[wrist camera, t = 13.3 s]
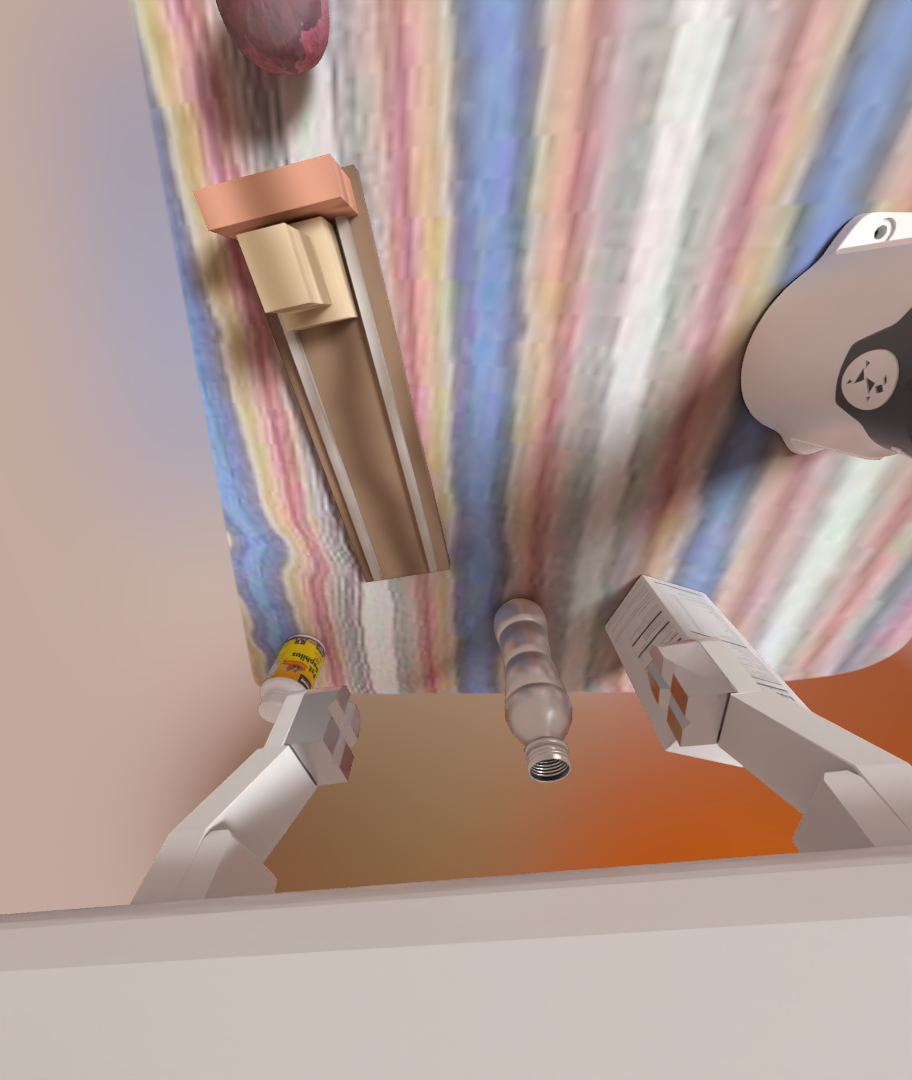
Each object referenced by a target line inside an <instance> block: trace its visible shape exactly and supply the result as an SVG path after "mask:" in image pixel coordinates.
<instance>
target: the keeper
mask: <svg viewBox="0 0 912 1080" xmlns="http://www.w3.org/2000/svg"><path fill="white" fill-rule="evenodd" d="M236 236H237V239H238V241H239V244H240V247H241V249H242V252H243V255H244V257H245V260H246V263H247V265H248V268H249V271H250V273H251V276H252V279H253V281H254V284H255V287H256V289H257V292H258V295H259V297H260V300H261V303H262V305H263V308H264V311H265V313H281V316H282V319H283V322H284V324H285V327H286V330H287V331H293V330H302V329H307V328H311V327H316V326H320V325H325V324H329V323H334V322H338V321H342V320H347V319H351V318H356V317H358V314H357V310H356V307H355V303H354V299H353V296H352V292H351V288H350V285H349V281H348V277H347V274H346V270H345V266H344V263H343V259H342V255H341V252H340V248H339V244H338V241H337V237H336V234H335V230H334V226H333V225H332V224H331V223H329V222H328V221H327V220H325V219H324V218H323V217H321V216H320V217H316V218H312V219H308V220H304V221H300V222H296V223H292V224H288V225H287V224H285V223H281V224H277V225H273V226H269V227H266V228H262V229H258V230H254V231H250V232H246V233H242V234H238V235H236Z"/></svg>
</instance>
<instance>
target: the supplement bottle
mask: <svg viewBox="0 0 912 1080" xmlns="http://www.w3.org/2000/svg"><path fill="white" fill-rule="evenodd" d="M324 657H325V648H324V646H323V644H322V643H321V642H320V641H319V640H318V639H316V638H314V637H312V636H309V635H303V634H300V635H295V636H292V637H290V638H289V639H288V640H287V641H286V642H285V644H284V645H283V647H282V649H281V651H280V653H279V655H278V656H277V658H276V660H275V662H274V664H273V666H272V668H271V669H270V671H269V673H268V675H267V677H266V679H265V680H264V682H263V684H262V686H261V689H260V696H261V699H262V701H261V703H260V705H259V708H258V713H259V715H260V716H261V717H262V718H263V719H264V720H266V721H268V722H271V723H275V721H276V719H277V717H278V715H279V712H280V710H281V708H282V706H283V704H284V701H285V699H286V697H287V696H288V695H289V694H290V693H291V692H292V691H299V690H308V689H312V688H313V685H314V683H315V680H316V678H317V675H318V673H319V670H320V667H321V665H322V662H323V660H324Z"/></svg>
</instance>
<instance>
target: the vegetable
mask: <svg viewBox="0 0 912 1080" xmlns="http://www.w3.org/2000/svg"><path fill="white" fill-rule="evenodd" d="M216 3H217V6H218V9H219V12H220V15H221V17H222V19H223V22H224V24H225V26H226V28H227V31H228V33H229V34H230V36H231V38H232V39H233V41H234V43H235V44H236V46H237V47H238V48H239V49H240V51H241V52H242V53H243V54H244V55H245V56H246V57H247V58H248V59H249V60H250V61H252V62H253V63H254V64H256V65H257V66H258V67H260V68H262V69H263V70H265V71H267V72H270V73H274V74H277V75H296V74H300V73H303V72H305V71H308V70H310V69H311V68H313V67H314V66H316V65H317V64H318V63H319V61H320V60H321V58H322V56H323V54H324V52H325V49H326V47H327V43H328V37H329V11H328V1H327V0H216Z"/></svg>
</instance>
